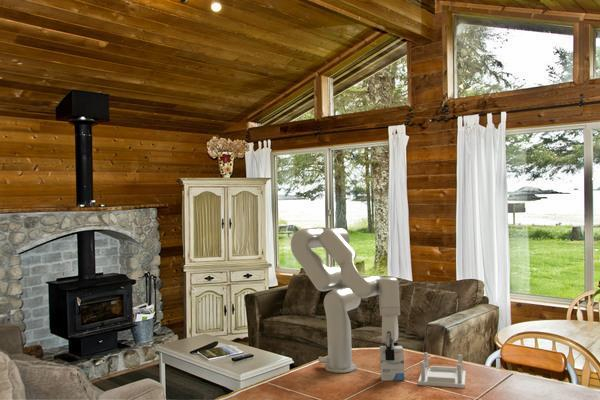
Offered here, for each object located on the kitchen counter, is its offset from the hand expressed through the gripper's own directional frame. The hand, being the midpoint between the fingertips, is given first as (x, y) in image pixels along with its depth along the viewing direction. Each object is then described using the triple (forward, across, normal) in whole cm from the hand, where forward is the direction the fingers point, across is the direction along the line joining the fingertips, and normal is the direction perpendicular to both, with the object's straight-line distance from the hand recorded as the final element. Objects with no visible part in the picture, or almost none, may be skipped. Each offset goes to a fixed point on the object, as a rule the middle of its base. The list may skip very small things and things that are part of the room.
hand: (392, 356), depth 197 cm
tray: (+8, -3, +18) cm, 20 cm away
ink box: (+8, 0, 0) cm, 8 cm away
